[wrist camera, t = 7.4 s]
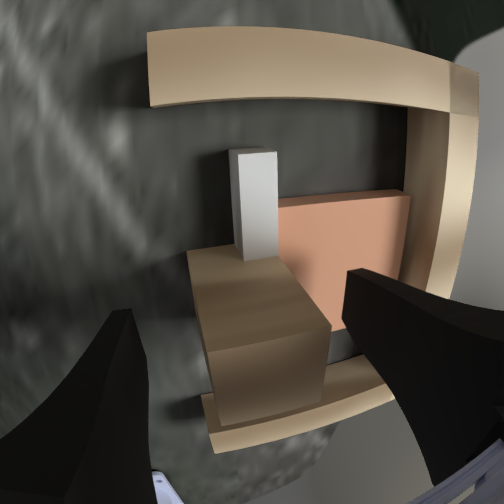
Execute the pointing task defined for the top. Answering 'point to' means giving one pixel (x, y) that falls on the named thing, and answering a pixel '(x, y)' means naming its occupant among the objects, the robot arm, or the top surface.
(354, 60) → the tile rest
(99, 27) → the top surface
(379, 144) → the top surface
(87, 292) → the top surface
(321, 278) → the terracotta tile
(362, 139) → the top surface
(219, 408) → the wood block with post
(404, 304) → the robot arm
